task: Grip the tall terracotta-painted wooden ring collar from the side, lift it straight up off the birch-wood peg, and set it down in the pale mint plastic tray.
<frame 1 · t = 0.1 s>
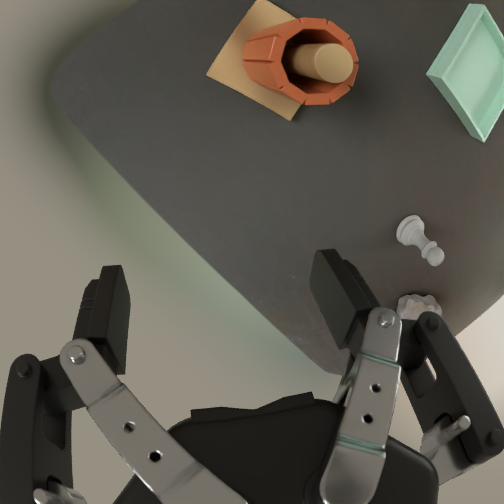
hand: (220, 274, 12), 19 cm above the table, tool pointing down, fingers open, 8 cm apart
tray: (473, 69, 26), on the table
peg stand: (273, 58, 23), on the table
stone: (410, 302, 52), on the table
ring collar: (276, 58, 23), point 1 cm above the table, touching peg stand
chess piece: (407, 227, 40), on the table
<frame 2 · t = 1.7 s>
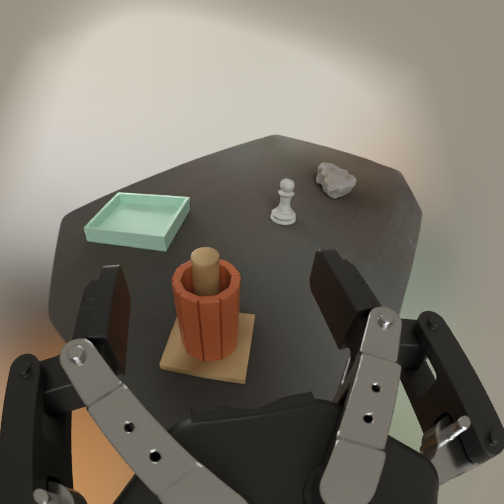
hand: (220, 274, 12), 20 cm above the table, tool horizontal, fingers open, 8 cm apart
tray: (139, 224, 51), on the table
peg stand: (210, 344, 33), on the table
stone: (331, 191, 68), on the table
ring collar: (209, 338, 32), point 1 cm above the table, touching peg stand
chess piece: (282, 220, 56), on the table
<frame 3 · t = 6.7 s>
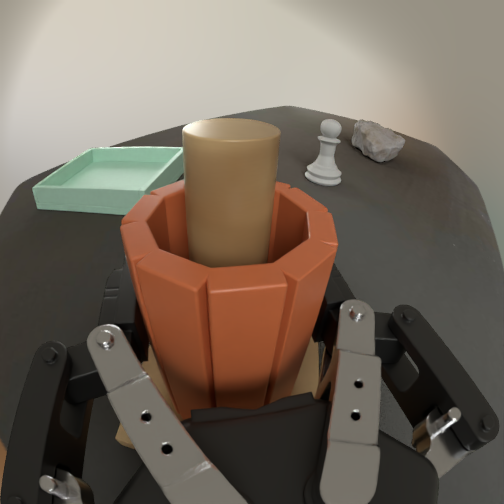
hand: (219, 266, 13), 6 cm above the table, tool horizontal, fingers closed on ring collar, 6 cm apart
tray: (113, 185, 33), on the table
peg stand: (228, 388, 14), on the table
stone: (372, 155, 50), on the table
ring collar: (228, 378, 14), point 1 cm above the table, touching gripper, peg stand
chess piece: (322, 180, 37), on the table
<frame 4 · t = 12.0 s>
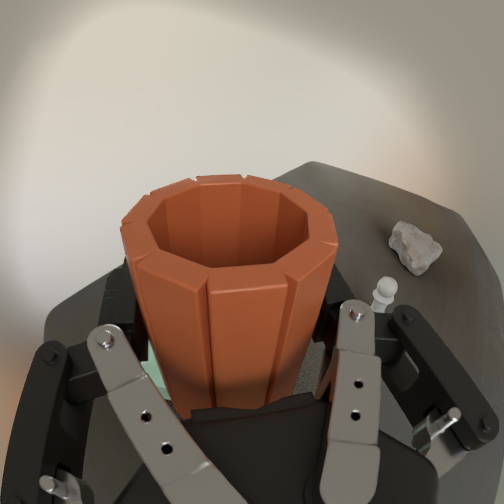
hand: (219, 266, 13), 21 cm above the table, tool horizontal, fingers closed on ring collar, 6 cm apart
tray: (165, 347, 33), on the table
stone: (408, 260, 49), on the table
ring collar: (228, 379, 14), point 16 cm above the table, touching gripper
chess piece: (369, 325, 37), on the table
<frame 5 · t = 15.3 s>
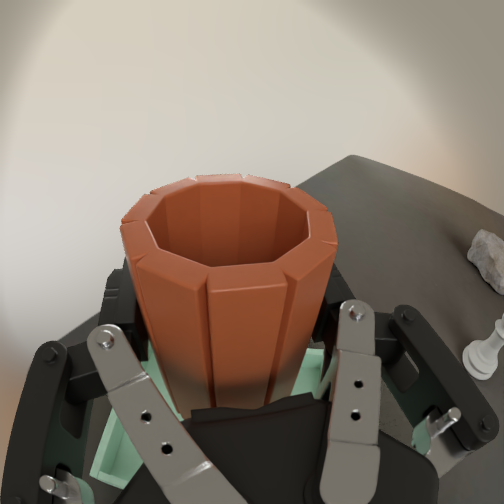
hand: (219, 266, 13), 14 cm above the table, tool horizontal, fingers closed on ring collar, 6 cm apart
tray: (225, 431, 19), on the table
stone: (487, 275, 36), on the table
ring collar: (228, 378, 14), point 9 cm above the table, touching gripper
chess piece: (476, 364, 23), on the table
when the fingers open (6 cm above the table, at t = 17.7 s): ring collar stays where it is, resting on tray.
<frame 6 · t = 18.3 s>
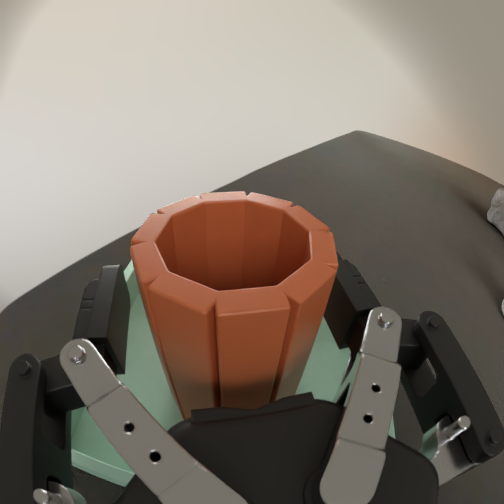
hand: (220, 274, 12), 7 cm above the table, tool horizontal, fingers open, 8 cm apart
tray: (229, 392, 15), on the table
ring collar: (232, 385, 14), point 1 cm above the table, touching tray
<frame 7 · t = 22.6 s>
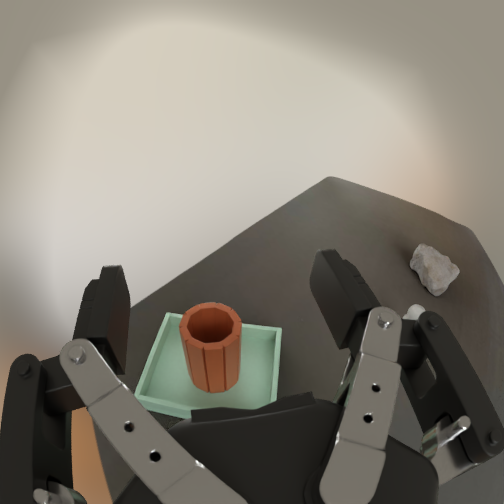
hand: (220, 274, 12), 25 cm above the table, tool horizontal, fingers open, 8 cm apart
tray: (213, 374, 35), on the table
stone: (427, 280, 51), on the table
ring collar: (214, 371, 34), point 1 cm above the table, touching tray
chess piece: (396, 346, 39), on the table
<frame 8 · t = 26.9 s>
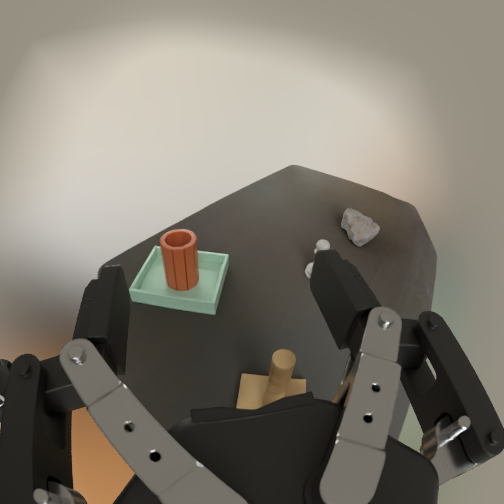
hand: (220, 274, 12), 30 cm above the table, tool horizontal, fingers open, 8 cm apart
tray: (182, 282, 55), on the table
peg stand: (270, 407, 36), on the table
stone: (355, 237, 72), on the table
ring collar: (182, 279, 55), point 1 cm above the table, touching tray
chess piece: (316, 274, 59), on the table
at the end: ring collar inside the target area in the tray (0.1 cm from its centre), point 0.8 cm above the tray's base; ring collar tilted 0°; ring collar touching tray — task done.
